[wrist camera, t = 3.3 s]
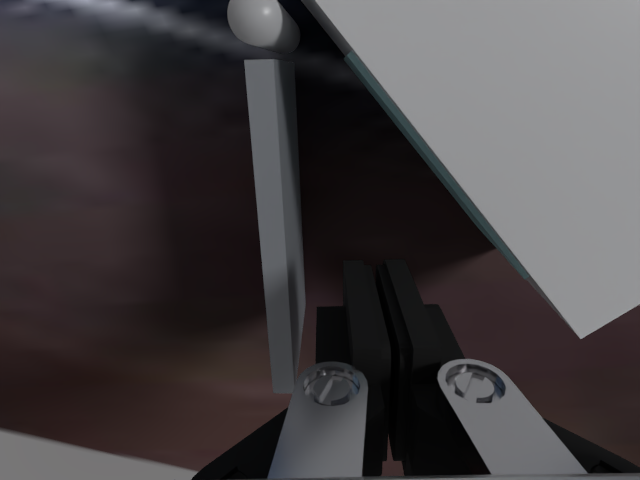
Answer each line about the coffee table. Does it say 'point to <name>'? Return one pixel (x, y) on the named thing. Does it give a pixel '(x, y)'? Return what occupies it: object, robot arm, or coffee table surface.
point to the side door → (275, 177)
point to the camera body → (520, 128)
